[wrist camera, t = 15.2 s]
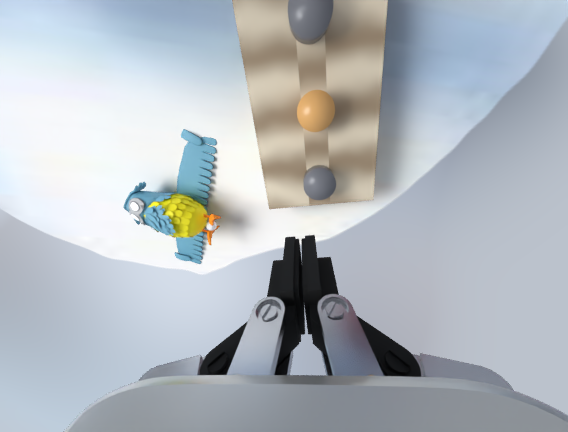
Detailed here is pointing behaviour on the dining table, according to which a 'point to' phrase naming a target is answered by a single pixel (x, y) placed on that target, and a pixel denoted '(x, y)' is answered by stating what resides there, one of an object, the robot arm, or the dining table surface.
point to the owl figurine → (181, 201)
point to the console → (304, 78)
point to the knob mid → (316, 110)
